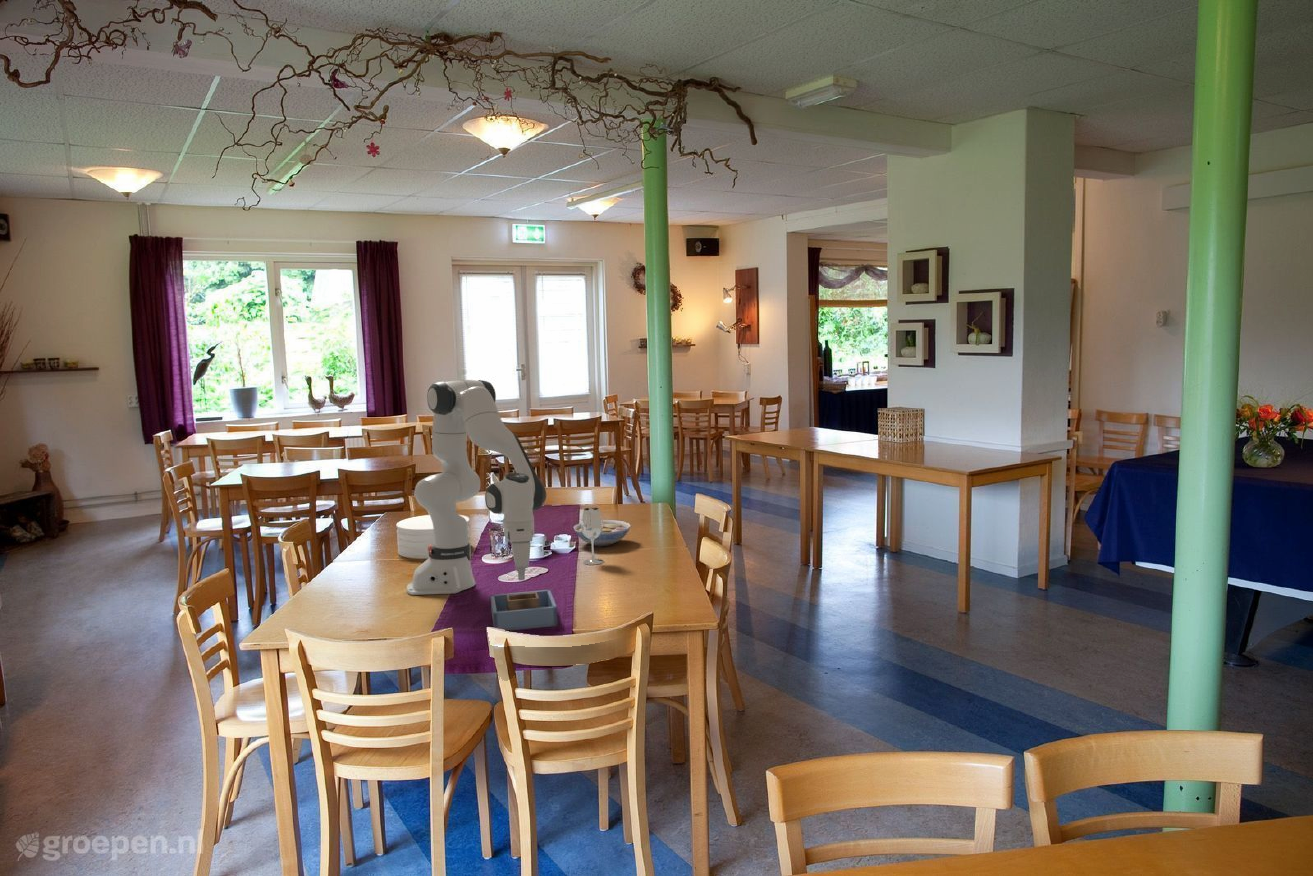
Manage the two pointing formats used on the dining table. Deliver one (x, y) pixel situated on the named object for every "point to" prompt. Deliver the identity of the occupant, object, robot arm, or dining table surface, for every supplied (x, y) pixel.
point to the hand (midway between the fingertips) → (520, 575)
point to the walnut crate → (522, 601)
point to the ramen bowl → (607, 532)
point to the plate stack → (418, 536)
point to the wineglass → (592, 530)
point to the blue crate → (524, 612)
